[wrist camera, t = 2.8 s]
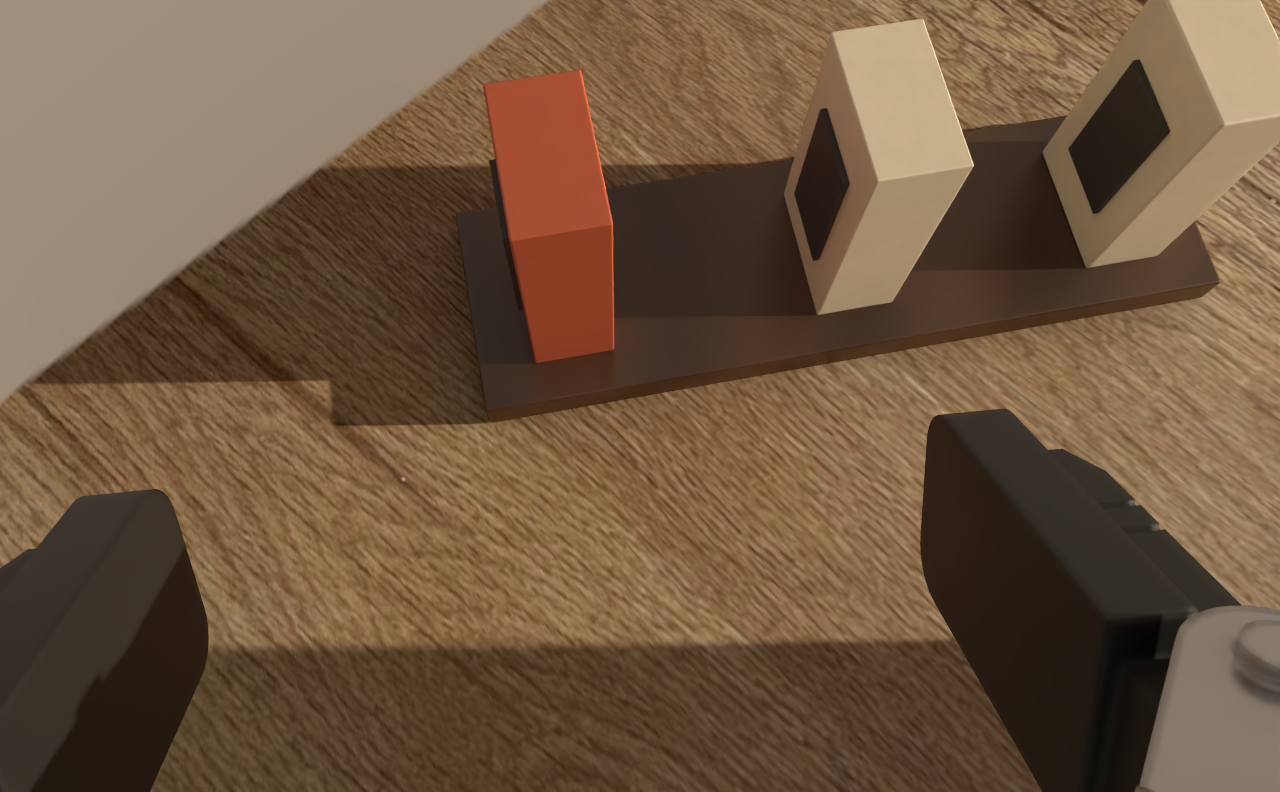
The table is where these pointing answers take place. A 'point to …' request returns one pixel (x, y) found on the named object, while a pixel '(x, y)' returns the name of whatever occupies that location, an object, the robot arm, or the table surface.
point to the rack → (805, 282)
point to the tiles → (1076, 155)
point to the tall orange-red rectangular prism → (553, 212)
